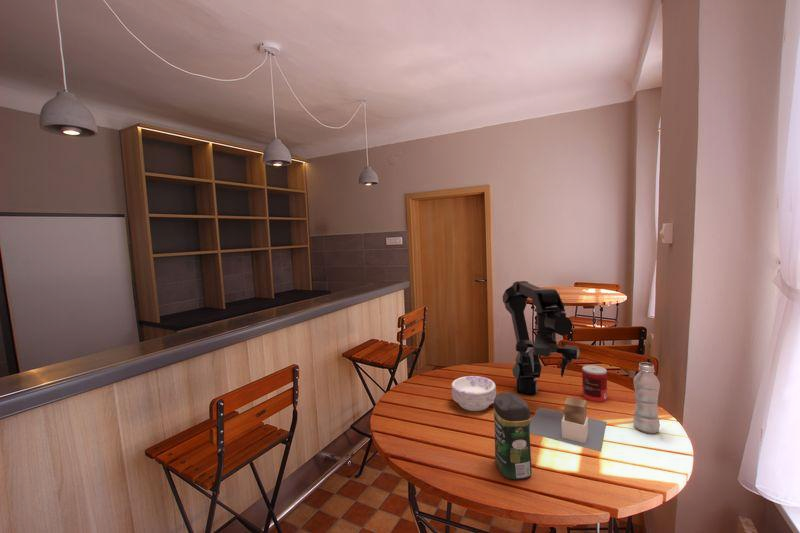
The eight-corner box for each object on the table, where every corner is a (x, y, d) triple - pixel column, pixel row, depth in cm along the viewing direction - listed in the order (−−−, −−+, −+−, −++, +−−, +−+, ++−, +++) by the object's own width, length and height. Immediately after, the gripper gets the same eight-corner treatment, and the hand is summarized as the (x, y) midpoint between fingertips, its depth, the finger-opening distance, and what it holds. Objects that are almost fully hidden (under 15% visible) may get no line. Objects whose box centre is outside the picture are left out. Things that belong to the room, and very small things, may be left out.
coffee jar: (491, 458, 95) (489, 390, 93) (520, 456, 95) (518, 388, 94) (504, 483, 85) (502, 407, 84) (536, 480, 85) (535, 405, 84)
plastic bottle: (655, 426, 107) (655, 361, 105) (663, 438, 100) (664, 369, 99) (630, 423, 109) (630, 359, 108) (636, 435, 102) (637, 367, 101)
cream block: (561, 437, 102) (561, 420, 102) (565, 428, 107) (565, 412, 106) (585, 443, 98) (585, 426, 98) (588, 433, 103) (587, 416, 103)
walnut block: (564, 420, 102) (564, 403, 101) (567, 413, 106) (567, 396, 105) (583, 425, 99) (583, 407, 98) (586, 417, 103) (586, 400, 103)
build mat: (524, 433, 106) (524, 431, 106) (538, 408, 121) (538, 407, 121) (601, 453, 95) (601, 451, 95) (606, 423, 109) (606, 421, 109)
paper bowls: (447, 412, 121) (446, 389, 121) (457, 394, 135) (457, 373, 135) (493, 418, 116) (492, 395, 115) (498, 399, 130) (498, 377, 129)
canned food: (600, 394, 130) (600, 364, 129) (611, 404, 122) (611, 372, 121) (578, 394, 131) (578, 365, 130) (588, 404, 123) (587, 373, 122)
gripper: (510, 330, 115) (511, 377, 116) (573, 336, 104) (574, 388, 105) (520, 322, 124) (520, 366, 125) (579, 328, 113) (579, 376, 115)
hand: (547, 374), depth 117 cm, fingers open, 9 cm apart
